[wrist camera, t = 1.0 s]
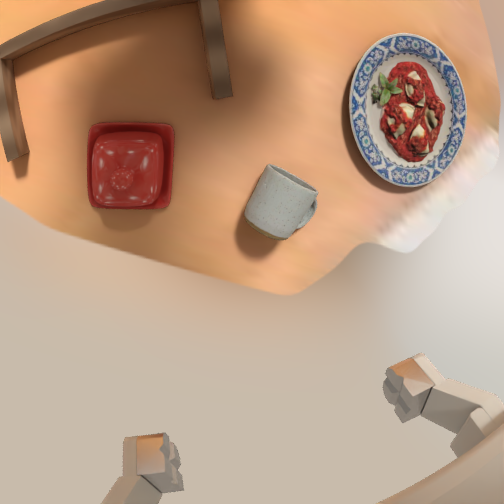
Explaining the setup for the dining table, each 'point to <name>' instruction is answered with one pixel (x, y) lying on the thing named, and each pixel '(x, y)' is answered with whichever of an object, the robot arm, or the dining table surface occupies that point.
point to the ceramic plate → (407, 109)
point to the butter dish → (130, 165)
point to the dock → (114, 6)
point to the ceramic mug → (280, 203)
